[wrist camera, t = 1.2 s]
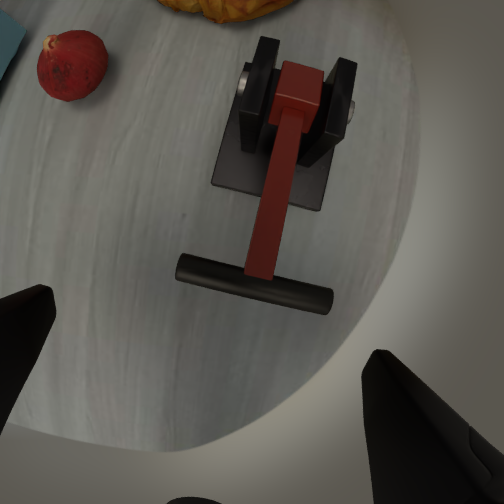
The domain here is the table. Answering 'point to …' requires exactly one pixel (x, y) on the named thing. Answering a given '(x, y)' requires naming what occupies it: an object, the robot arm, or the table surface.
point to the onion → (72, 64)
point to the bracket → (263, 134)
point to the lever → (271, 208)
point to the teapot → (9, 39)
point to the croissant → (227, 8)
